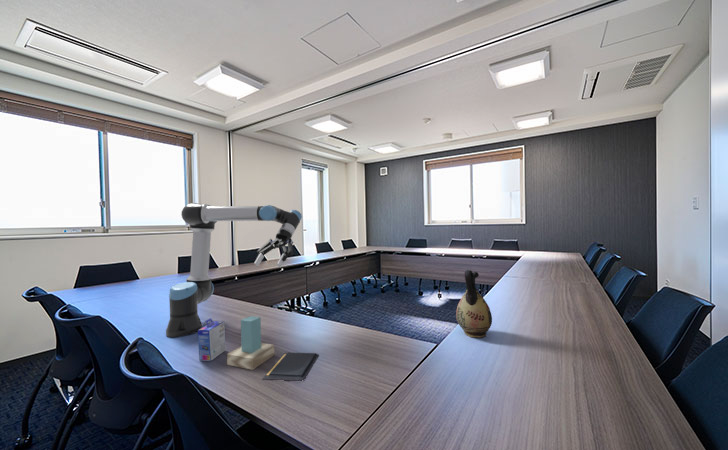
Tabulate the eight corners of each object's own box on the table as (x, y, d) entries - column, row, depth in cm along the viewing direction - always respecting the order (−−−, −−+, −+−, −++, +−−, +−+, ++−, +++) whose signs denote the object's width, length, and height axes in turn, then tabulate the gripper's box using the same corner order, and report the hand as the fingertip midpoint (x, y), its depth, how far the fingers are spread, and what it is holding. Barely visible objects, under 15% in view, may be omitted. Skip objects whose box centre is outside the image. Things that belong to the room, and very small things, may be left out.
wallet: (302, 378, 92) (259, 375, 94) (302, 384, 92) (259, 381, 94) (321, 351, 112) (285, 349, 114) (321, 355, 112) (285, 354, 114)
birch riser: (227, 364, 105) (227, 354, 105) (250, 350, 116) (250, 341, 116) (252, 369, 101) (252, 358, 101) (274, 354, 112) (274, 345, 112)
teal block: (241, 351, 107) (240, 320, 107) (251, 345, 111) (250, 316, 111) (251, 353, 105) (251, 321, 105) (261, 347, 110) (260, 317, 110)
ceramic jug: (461, 325, 139) (460, 265, 139) (495, 332, 130) (494, 268, 130) (450, 337, 126) (449, 270, 125) (487, 345, 117) (485, 273, 116)
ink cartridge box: (213, 349, 118) (213, 315, 118) (226, 350, 117) (225, 315, 117) (197, 361, 108) (196, 323, 108) (211, 361, 107) (210, 324, 107)
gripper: (308, 238, 148) (292, 270, 134) (269, 238, 156) (250, 269, 142) (302, 228, 143) (285, 261, 129) (263, 228, 151) (242, 260, 137)
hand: (267, 265), depth 135 cm, fingers open, 13 cm apart
